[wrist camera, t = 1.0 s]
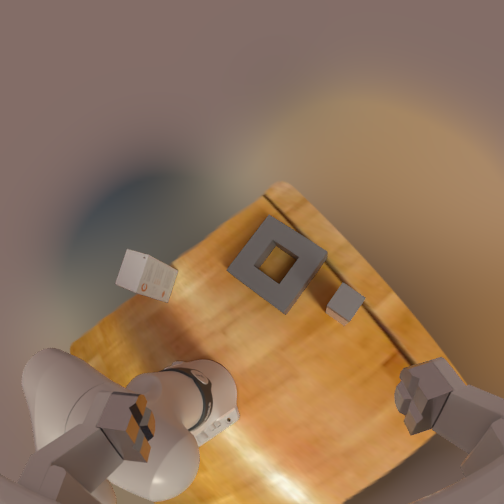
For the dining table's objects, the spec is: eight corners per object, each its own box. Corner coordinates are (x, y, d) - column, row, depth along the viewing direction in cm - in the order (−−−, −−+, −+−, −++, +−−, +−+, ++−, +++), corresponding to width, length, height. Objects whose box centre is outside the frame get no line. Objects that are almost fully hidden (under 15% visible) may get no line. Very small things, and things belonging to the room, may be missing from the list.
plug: (344, 326, 55) (349, 321, 44) (325, 313, 57) (326, 305, 46) (357, 307, 56) (365, 297, 44) (339, 294, 57) (342, 282, 46)
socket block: (285, 315, 59) (283, 312, 55) (232, 274, 64) (226, 270, 60) (327, 257, 60) (327, 251, 56) (272, 222, 65) (269, 214, 62)
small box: (157, 264, 69) (126, 247, 57) (179, 270, 67) (149, 254, 55) (147, 295, 67) (114, 284, 55) (168, 303, 65) (136, 293, 53)
